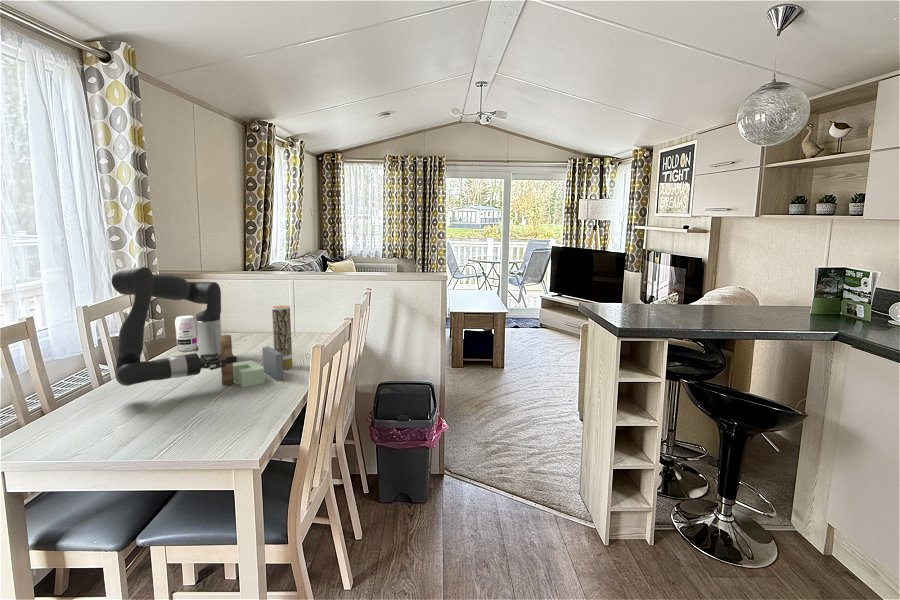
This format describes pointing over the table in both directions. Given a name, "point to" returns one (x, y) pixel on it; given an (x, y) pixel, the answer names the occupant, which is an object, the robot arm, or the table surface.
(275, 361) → the wall
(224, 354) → the brown banded cylinder
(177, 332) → the supplement can
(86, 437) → the table surface
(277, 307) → the brown bark cylinder
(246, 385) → the cradle
